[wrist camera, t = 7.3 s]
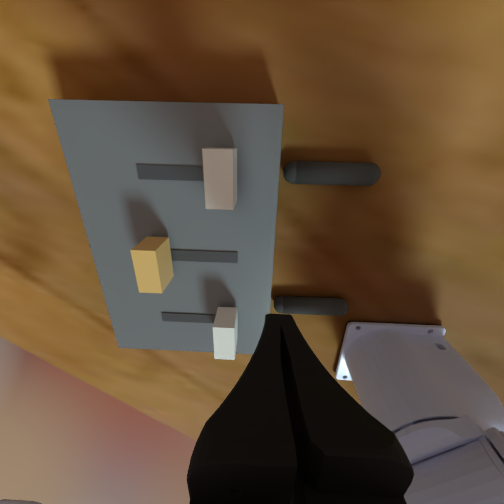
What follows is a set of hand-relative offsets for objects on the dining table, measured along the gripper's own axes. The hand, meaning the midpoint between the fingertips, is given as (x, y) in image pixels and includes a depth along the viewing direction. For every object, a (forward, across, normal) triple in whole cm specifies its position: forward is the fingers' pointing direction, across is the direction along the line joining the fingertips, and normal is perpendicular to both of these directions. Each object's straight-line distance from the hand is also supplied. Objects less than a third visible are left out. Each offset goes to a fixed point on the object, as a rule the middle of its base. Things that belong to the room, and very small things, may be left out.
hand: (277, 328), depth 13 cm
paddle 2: (+6, +4, +5) cm, 9 cm away
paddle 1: (+6, +4, -7) cm, 10 cm away
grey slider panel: (+9, +7, -1) cm, 12 cm away
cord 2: (+10, -4, +5) cm, 12 cm away
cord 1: (+10, -4, -7) cm, 13 cm away
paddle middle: (+6, +8, -1) cm, 10 cm away
